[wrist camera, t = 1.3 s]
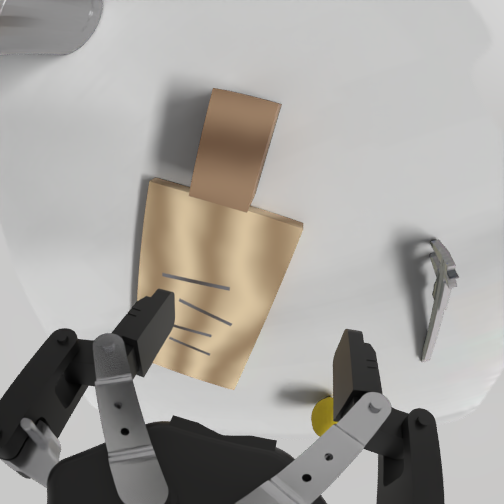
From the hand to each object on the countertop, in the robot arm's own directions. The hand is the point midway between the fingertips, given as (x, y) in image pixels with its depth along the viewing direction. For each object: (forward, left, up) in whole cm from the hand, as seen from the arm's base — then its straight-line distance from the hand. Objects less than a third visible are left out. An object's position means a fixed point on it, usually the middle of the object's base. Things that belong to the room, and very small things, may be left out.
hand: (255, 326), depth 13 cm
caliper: (+23, -7, -19) cm, 30 cm away
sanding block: (-5, +4, -18) cm, 19 cm away
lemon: (+18, -28, -18) cm, 38 cm away
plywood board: (-5, -16, -18) cm, 24 cm away
